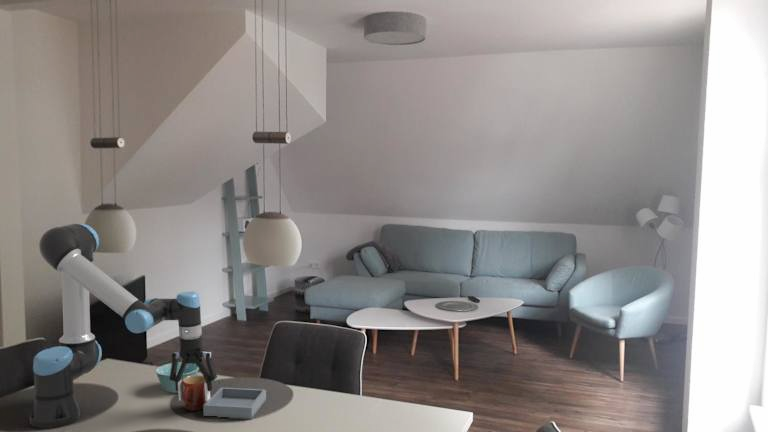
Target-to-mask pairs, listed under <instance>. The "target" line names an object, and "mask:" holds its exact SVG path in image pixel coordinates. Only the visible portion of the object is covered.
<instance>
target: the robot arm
mask: <svg viewBox="0 0 768 432" xmlns="http://www.w3.org/2000/svg"><path fill="white" fill-rule="evenodd" d="M99 244H100V239H99V235H98V233H97V232H96V230H95V229H94V228H92V226H90V225H88V224H85V223H71V224H67V225H63V226H56V227H55V226H54V227H52V228H50V229H47V230H46V231H45V232H44V233H43V234H42V236H41V237H40V239H39V244H38V245H39V253H40V254H41V256H42V259H44V261H45V262H46V263H47V264H48V265H49V266H51V267H52V268H53V269H54V270H55V271H56V272H58V273H61V289H62V291H61V292H62V293H61V294H62V319H63V321H62V322H63V324H62V325H63V327H62V328H63V331H62V332H63V335H62V336H61V337H60V338H59V340H58V346H53V347H52V346H51V347H50V348H45V349H43V350H41V351H40V352H38V353H36V355H35V356H34V358H33V366H32V370H33V371H32V372H33V383H34V385H33V386H34V387H33V388H34V403H33V405H32V408H31V411H30V413H29V414H30V415H29V424H31V425H32V427H33V428H36V429H37V428H38V429H51V428H58V427H64V426H67V425H69V424H72V423H74V422H75V421H77V420H79V418H81V408H80V406H79V404H78V401H77V399H76V396H75V391H74V381H75V380H77V379H79V378H80V377H82V376H83V375H85V374H88V373H89V372H91V371H92V370H94V368H96V367H97V366H98V365H99V364H100V362H101V360H102V352H103V351H102V347H101V345H100V344H99V343H98V341H97V340H96V336H95V334H94V333H92V332H91V315H90V310H91V309H90V308H91V307H90V306H91V305H90V304H91V303H90V294H92V295H93V296H94V297H95V298H97V299H98V300H99V301H100V302H102V303H103V304H104V305H106V306H107V307H109V308H110V309H111V310H112V311H114V312H115V313H116V314H118V316H120V317H121V318H123V319H124V323H125V326H126V328H127V330H129V331H130V332H131V333H134V334H140V333H144V332H146V331H149V330H150V329H151V328H153V327H155V326H157V325H158V324H161V323H162V322H165V321H177V323H178V335H179V337H180V338H179V349H180V350H179V351H177V350H175V351H174V352H172V353H171V359H172V360H171V363H172V366H171V373H170V380H171V381H172V380H173V381H175V385H176V391H178V393H177V394H178V402H181V401H182V400H183V390H184V387H183V380H181V379H182V378H181V377H182V375H183V373H184V370H185V368H186V366H187V364H189V363H193V364H196V365H197V366H198V367H199V371H200V373H201V374H202V375H201V376H204V378H205V380H206V382H205V383H204V387H205V401H206V402H207V401H208V400H209V399H210V398H211V391H212V390H213V382H214V381H215V380H216V379H217V377H218V375H217V371H216V368H215V365H214V361H213V357H212V356H213V353H212V351H204V349H203V336H202V334H203V333H202V332H203V329H202V319H201V318H202V315H201V303H200V295H199V293H198V292H197V291H182V292H179V293H177V295H176V298H158V297H154V298H148V299H145V301H144V302H143V301H141V300H139V299H138V297H136V296H135V295H133V294H132V293H131V292H130V291H128V290H127V289H126V288H125V287H123V286H122V285H121V284H119V283H118V282H117V281H116V280H114V279H113V278H111V277H110V276H109V275H108V274H106V273H105V272H104V271H102V270H101V269H100V268H99V267H98V266H97V265H95V264H94V253H96V250H98V248H99ZM203 356H204V359H205V362H206V364H205V363H204V359H203ZM180 357H181V358H182V361H181V362H182V363H181V367H180V369H179V371H178V374H177V376H176V372H177V366H178V362H179V360H180V359H179V358H180ZM180 380H181V381H180ZM31 425H30V426H31Z"/></svg>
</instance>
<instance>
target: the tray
mask: <svg viewBox="0 0 768 432" xmlns="http://www.w3.org/2000/svg"><path fill="white" fill-rule="evenodd" d="M266 401H267V389H259V388H239V387H238V388H237V387H220V388H219V389H218V390H217V391H216V392H215V393H214V394H213V395H212V396H210V399H209V400H208V401H206V402H205V404H204V405H203V408H202V409H203V417H204V416H218V417H217V418H220V417H229V418H228V419H238V418H239V419H241V420H252V419H253V418H254V417H255V416H256V414H258V412H259V410H260V409H261V408H262V407H263V405H264V404H265V402H266ZM239 419H238V420H239Z"/></svg>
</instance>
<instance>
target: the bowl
mask: <svg viewBox="0 0 768 432" xmlns="http://www.w3.org/2000/svg"><path fill="white" fill-rule="evenodd" d="M181 363H182V361H180V362H179V361H178V366H177V372H176V376H177V374H178V371H179V369H180V367H181ZM171 366H172V362H171V363H167V364H162V365H161V366H159V367H158V368H156V369H155V374H156V376H157V378H158V380H159V383H160V385H161V387H162V389H163V390H164V391H166V392H167V393H171V394H178V391H176V385H175V381H173V380H172V381H171V380H170V373H171ZM199 371H200V369H199V367H198V366H197V365H196V364H193V363H189V364H187V366H186V368H185V370H184V373H183V375H182V377H181V378H182V379H181V380H183V379H184V378H185V377H188V376H194V375H198V372H199ZM181 380H180V381H181ZM183 387H184V384H183Z"/></svg>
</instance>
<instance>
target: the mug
mask: <svg viewBox="0 0 768 432" xmlns="http://www.w3.org/2000/svg"><path fill="white" fill-rule="evenodd" d="M205 382H206V380H205V378H204V376H203V375H199V374H197V375H194V376H188V377H185V378H184V379H183V384H184V390H183V405H184V409H186V410H187V411H190V412H196V410H197V411H201V410H202V409H203V405H204V404H205V403H206V402H207V401H205V387H204V383H205ZM200 409H201V410H200Z"/></svg>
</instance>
